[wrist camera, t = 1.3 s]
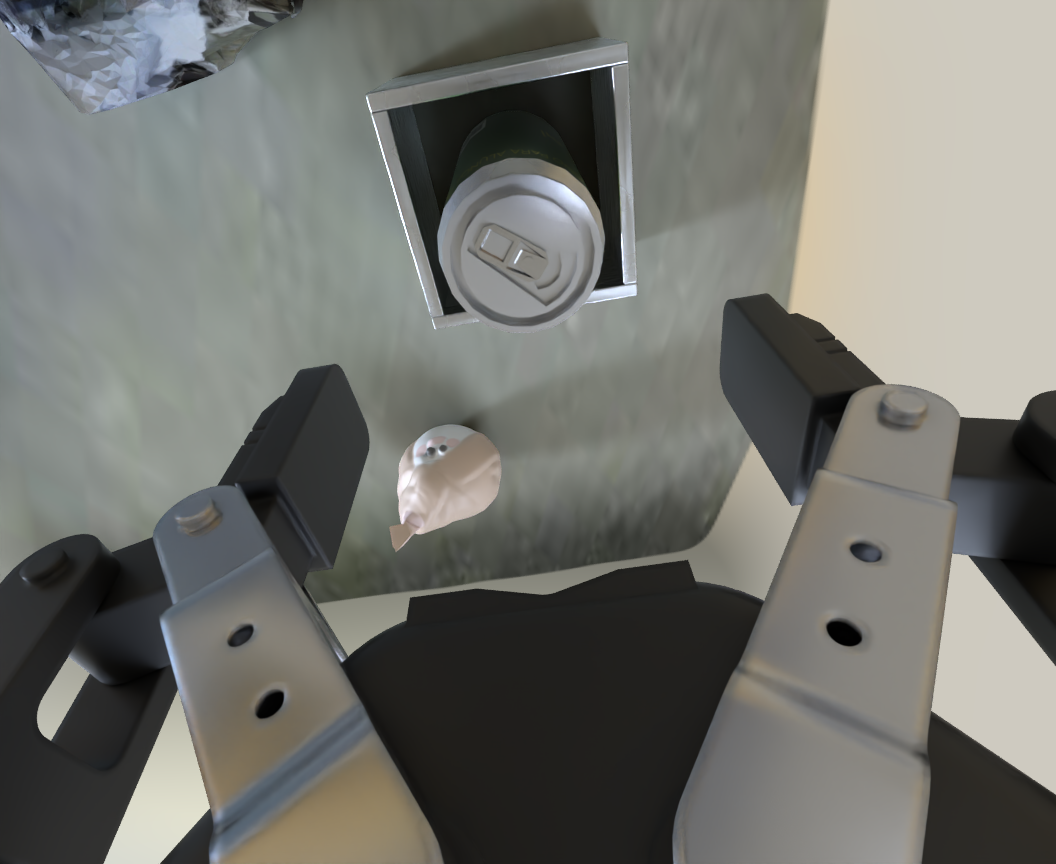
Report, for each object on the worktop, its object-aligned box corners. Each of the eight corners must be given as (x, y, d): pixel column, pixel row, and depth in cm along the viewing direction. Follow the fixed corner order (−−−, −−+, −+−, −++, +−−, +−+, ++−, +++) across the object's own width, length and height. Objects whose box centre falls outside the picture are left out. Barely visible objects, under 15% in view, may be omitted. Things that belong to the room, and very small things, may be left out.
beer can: (440, 196, 26) (407, 295, 17) (488, 82, 24) (481, 124, 14) (535, 247, 28) (553, 363, 19) (590, 146, 25) (645, 223, 16)
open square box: (391, 78, 23) (364, 93, 19) (601, 36, 23) (628, 41, 18) (445, 279, 29) (434, 330, 24) (614, 249, 28) (637, 295, 24)
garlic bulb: (408, 399, 34) (386, 487, 27) (508, 413, 35) (510, 501, 28) (401, 476, 38) (382, 569, 31) (492, 487, 39) (491, 579, 32)
